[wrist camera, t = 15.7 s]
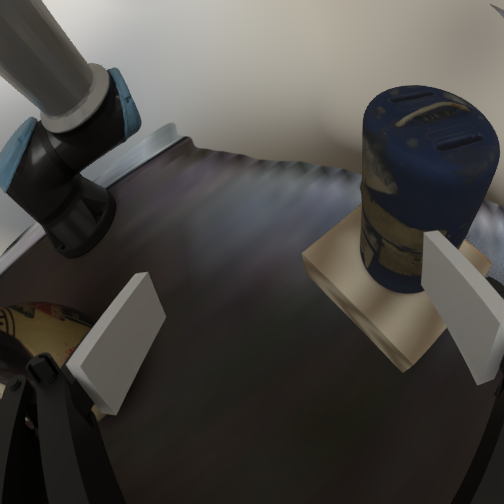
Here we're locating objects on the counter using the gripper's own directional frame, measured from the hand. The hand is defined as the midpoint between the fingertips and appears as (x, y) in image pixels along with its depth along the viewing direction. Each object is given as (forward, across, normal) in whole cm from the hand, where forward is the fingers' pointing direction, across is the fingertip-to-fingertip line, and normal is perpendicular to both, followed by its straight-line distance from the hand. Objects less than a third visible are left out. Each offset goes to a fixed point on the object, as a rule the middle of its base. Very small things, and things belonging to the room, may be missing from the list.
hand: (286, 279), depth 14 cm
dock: (+17, +11, -12) cm, 24 cm away
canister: (+15, +11, -8) cm, 20 cm away
